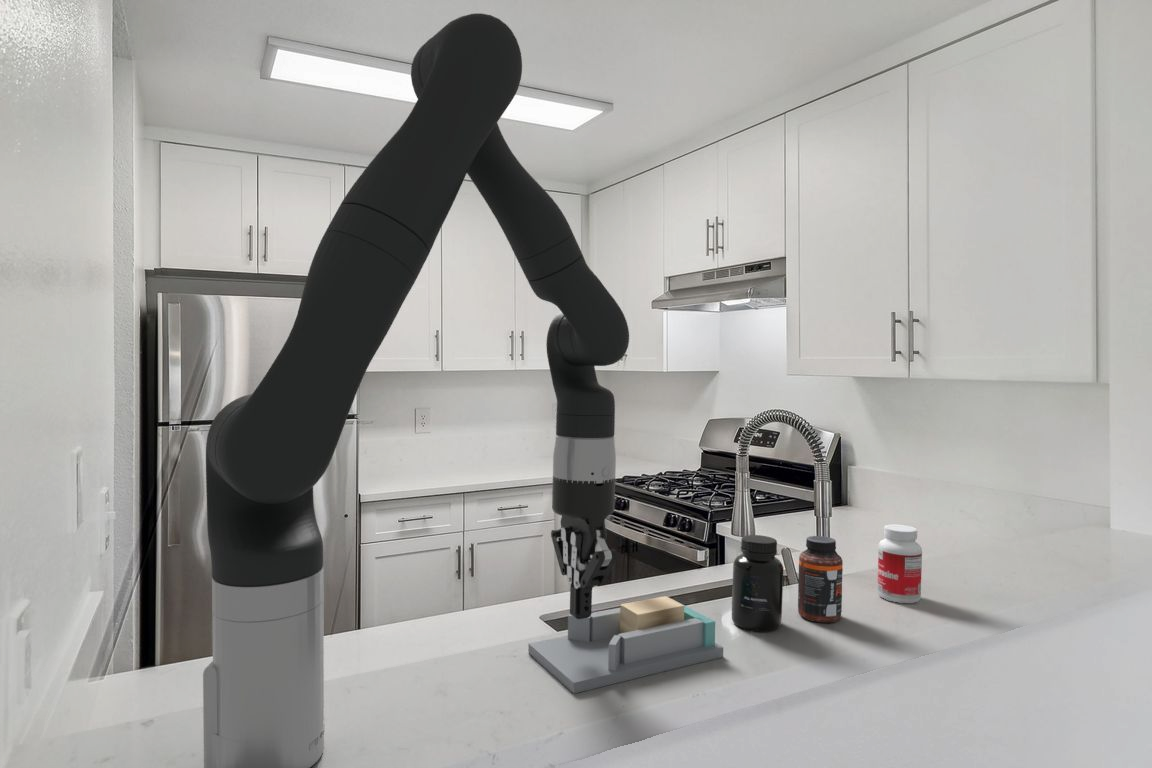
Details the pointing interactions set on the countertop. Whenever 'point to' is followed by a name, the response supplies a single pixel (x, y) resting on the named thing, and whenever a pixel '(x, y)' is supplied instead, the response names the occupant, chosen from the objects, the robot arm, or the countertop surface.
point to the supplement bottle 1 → (757, 585)
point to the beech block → (649, 613)
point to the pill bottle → (899, 565)
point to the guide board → (624, 649)
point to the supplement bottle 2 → (820, 581)
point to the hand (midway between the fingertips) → (580, 616)
